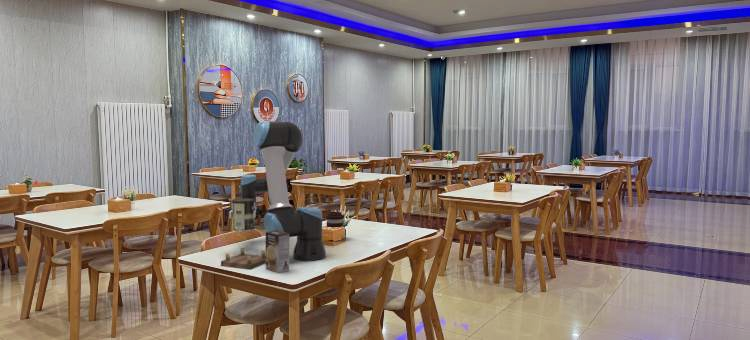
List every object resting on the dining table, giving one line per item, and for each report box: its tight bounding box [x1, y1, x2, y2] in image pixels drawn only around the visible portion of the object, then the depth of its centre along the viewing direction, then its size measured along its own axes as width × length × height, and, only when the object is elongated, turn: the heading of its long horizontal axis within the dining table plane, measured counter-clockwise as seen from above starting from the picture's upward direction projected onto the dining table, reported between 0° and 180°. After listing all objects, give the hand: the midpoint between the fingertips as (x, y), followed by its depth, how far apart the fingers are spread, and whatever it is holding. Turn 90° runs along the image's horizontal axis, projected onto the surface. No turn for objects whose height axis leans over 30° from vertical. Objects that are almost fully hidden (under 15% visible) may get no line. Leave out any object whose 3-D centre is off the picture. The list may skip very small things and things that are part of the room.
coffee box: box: [265, 230, 290, 274], centre depth 224 cm, size 9×6×16 cm
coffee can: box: [230, 197, 255, 233], centre depth 244 cm, size 10×10×14 cm
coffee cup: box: [325, 211, 345, 228], centre depth 284 cm, size 10×10×15 cm
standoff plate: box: [220, 247, 266, 270], centre depth 234 cm, size 15×15×5 cm
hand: (242, 215), depth 240 cm, fingers closed on coffee can, 10 cm apart
